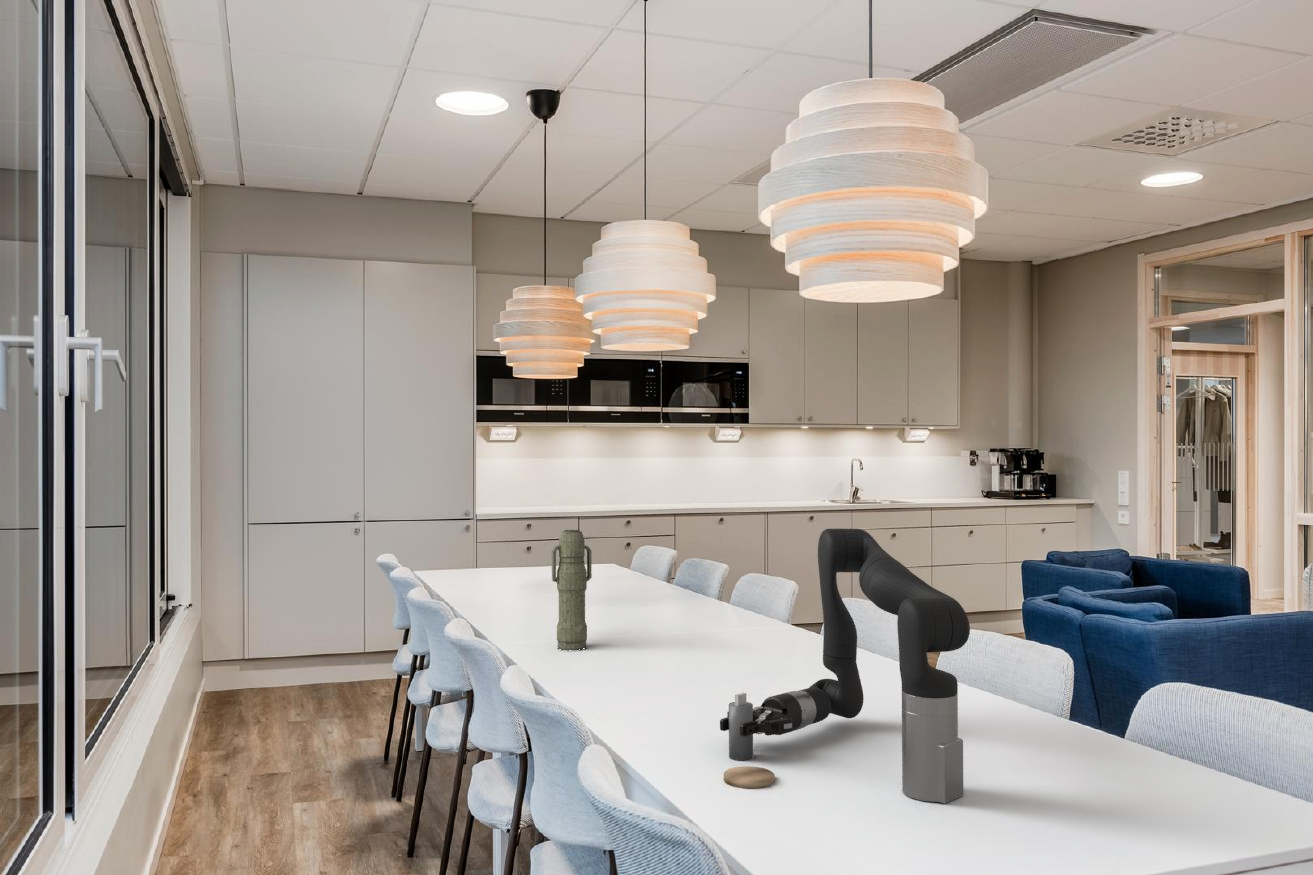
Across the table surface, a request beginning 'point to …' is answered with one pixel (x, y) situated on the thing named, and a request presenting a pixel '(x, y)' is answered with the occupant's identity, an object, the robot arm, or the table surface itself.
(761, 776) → the coaster
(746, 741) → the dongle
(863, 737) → the table surface
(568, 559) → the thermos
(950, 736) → the robot arm
